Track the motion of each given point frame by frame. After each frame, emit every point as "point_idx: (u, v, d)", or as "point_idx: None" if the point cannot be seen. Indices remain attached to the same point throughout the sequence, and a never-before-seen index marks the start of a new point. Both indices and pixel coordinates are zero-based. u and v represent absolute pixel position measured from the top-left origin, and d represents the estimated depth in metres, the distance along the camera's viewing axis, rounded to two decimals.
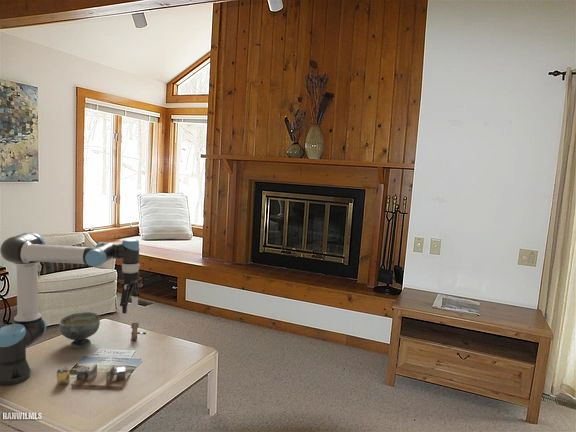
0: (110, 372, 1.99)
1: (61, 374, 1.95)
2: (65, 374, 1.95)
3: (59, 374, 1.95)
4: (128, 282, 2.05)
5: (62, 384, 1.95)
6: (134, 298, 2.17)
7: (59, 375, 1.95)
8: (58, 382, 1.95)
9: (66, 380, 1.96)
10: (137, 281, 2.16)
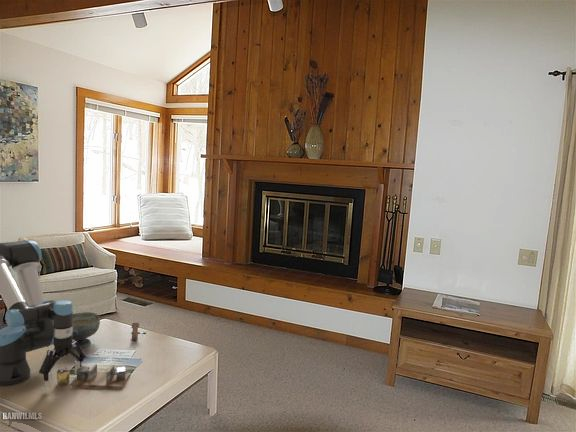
0: (110, 372, 1.99)
1: (61, 374, 1.95)
2: (65, 374, 1.95)
3: (59, 374, 1.95)
4: (55, 348, 1.92)
5: (62, 384, 1.95)
6: (76, 362, 2.02)
7: (59, 375, 1.95)
8: (58, 382, 1.95)
9: (66, 380, 1.96)
10: (78, 345, 2.01)
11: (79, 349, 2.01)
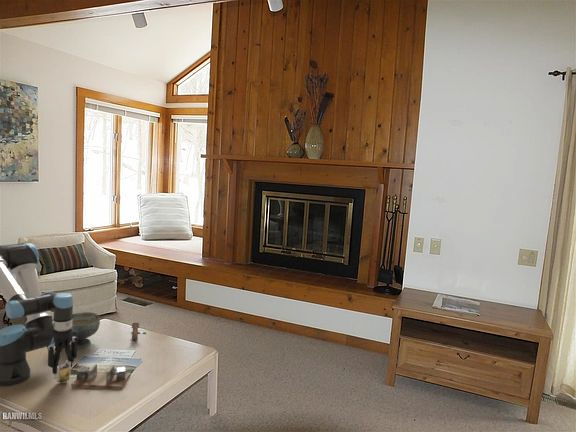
0: (110, 372, 1.99)
1: (61, 370, 1.95)
2: (65, 370, 1.95)
3: (59, 370, 1.95)
4: (55, 340, 1.92)
5: (62, 380, 1.95)
6: (67, 363, 1.99)
7: (59, 371, 1.95)
8: None
9: (66, 376, 1.96)
10: (76, 342, 2.00)
11: (75, 346, 2.00)
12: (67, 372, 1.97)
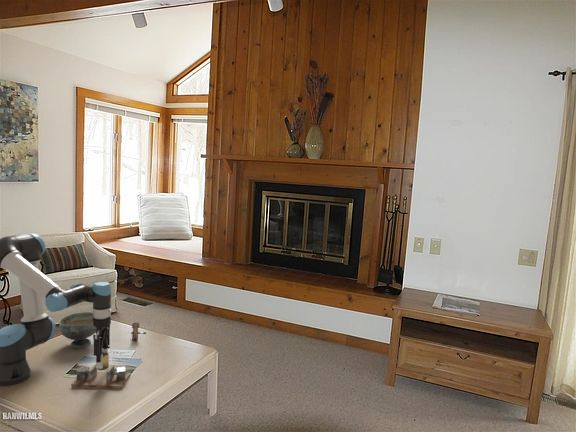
0: (110, 372, 1.99)
1: (104, 358, 1.98)
2: (107, 357, 1.99)
3: None
4: (99, 328, 1.94)
5: (105, 367, 1.99)
6: (103, 351, 2.02)
7: None
8: None
9: (108, 363, 2.00)
10: (109, 329, 2.04)
11: (109, 333, 2.04)
12: (108, 358, 2.00)
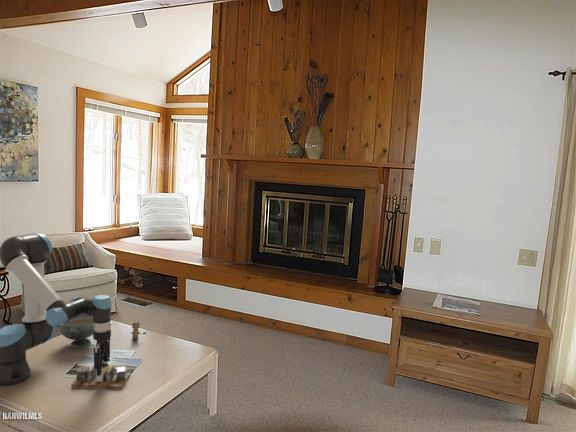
0: (110, 372, 1.99)
1: (104, 369, 1.98)
2: (107, 368, 2.00)
3: None
4: (99, 342, 1.95)
5: None
6: (104, 363, 2.02)
7: None
8: None
9: None
10: (109, 341, 2.05)
11: (109, 346, 2.05)
12: None
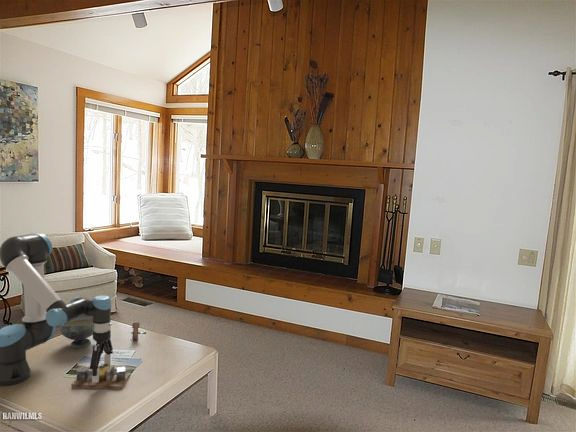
0: (110, 372, 1.99)
1: (104, 369, 1.98)
2: (107, 368, 2.00)
3: (102, 369, 1.98)
4: (99, 342, 1.95)
5: (105, 378, 1.99)
6: (107, 356, 2.06)
7: (102, 370, 1.98)
8: (101, 378, 1.98)
9: None
10: None
11: (110, 342, 2.06)
12: None
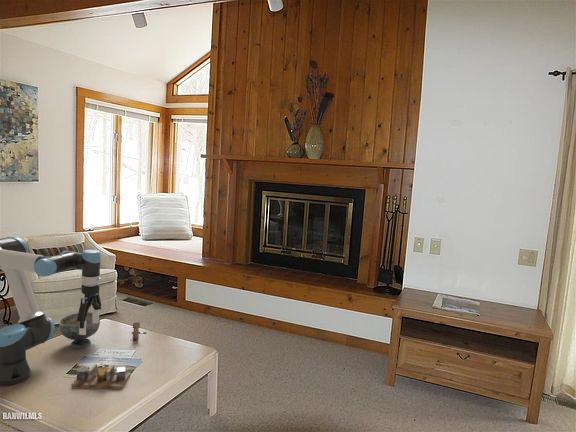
0: (110, 372, 1.99)
1: (104, 369, 1.98)
2: (107, 368, 2.00)
3: (102, 369, 1.98)
4: (87, 295, 1.95)
5: (105, 378, 1.99)
6: (95, 311, 2.07)
7: (102, 370, 1.98)
8: (101, 378, 1.98)
9: None
10: None
11: (99, 297, 2.06)
12: None
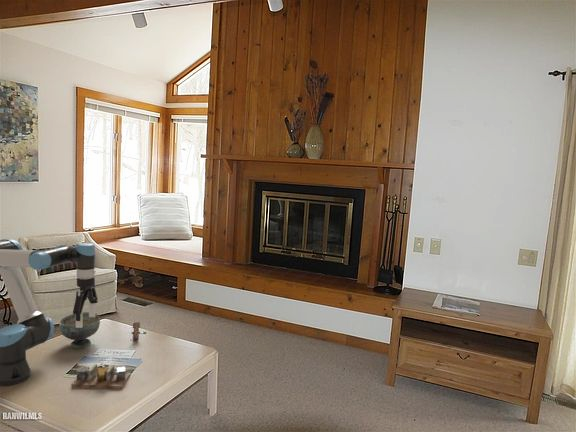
0: (110, 372, 1.99)
1: (104, 369, 1.98)
2: (107, 368, 2.00)
3: (102, 369, 1.98)
4: (83, 288, 1.96)
5: (105, 378, 1.99)
6: (91, 305, 2.07)
7: (102, 370, 1.98)
8: (101, 378, 1.98)
9: None
10: (94, 287, 2.07)
11: (95, 291, 2.07)
12: None
